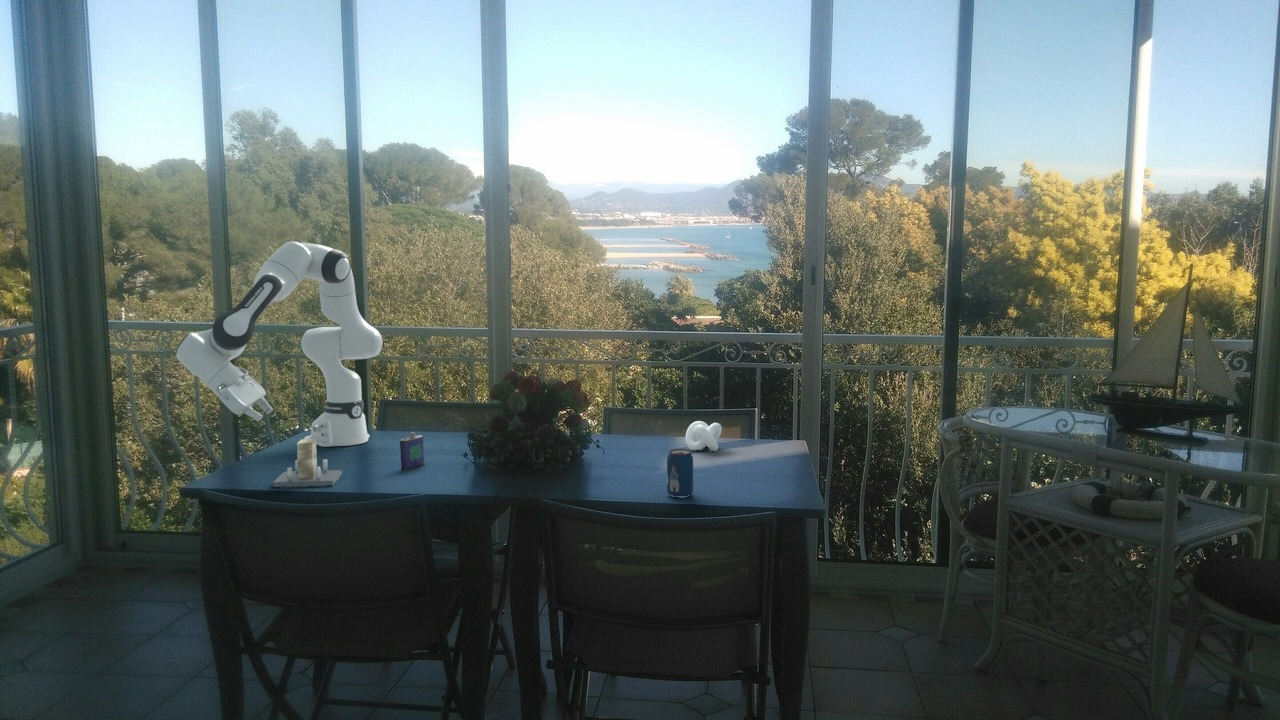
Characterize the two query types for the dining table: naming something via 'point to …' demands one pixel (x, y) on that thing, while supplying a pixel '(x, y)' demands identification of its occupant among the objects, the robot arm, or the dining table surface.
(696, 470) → the dining table surface
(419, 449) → the flask
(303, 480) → the chassis plate
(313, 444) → the birch block
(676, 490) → the soda can
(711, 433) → the white knot sculpture
